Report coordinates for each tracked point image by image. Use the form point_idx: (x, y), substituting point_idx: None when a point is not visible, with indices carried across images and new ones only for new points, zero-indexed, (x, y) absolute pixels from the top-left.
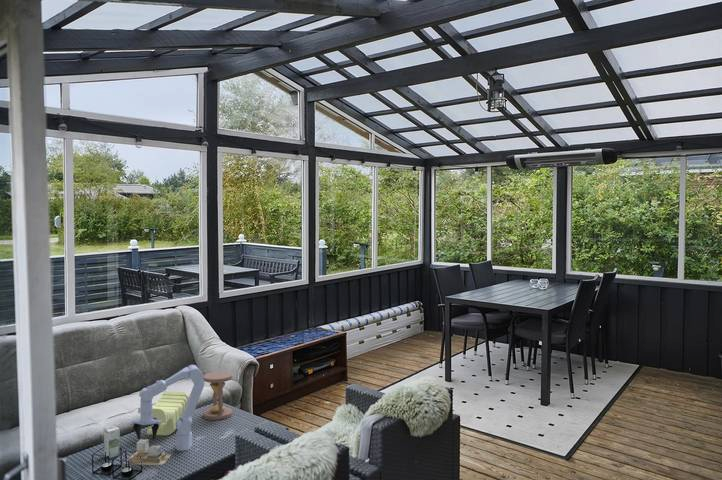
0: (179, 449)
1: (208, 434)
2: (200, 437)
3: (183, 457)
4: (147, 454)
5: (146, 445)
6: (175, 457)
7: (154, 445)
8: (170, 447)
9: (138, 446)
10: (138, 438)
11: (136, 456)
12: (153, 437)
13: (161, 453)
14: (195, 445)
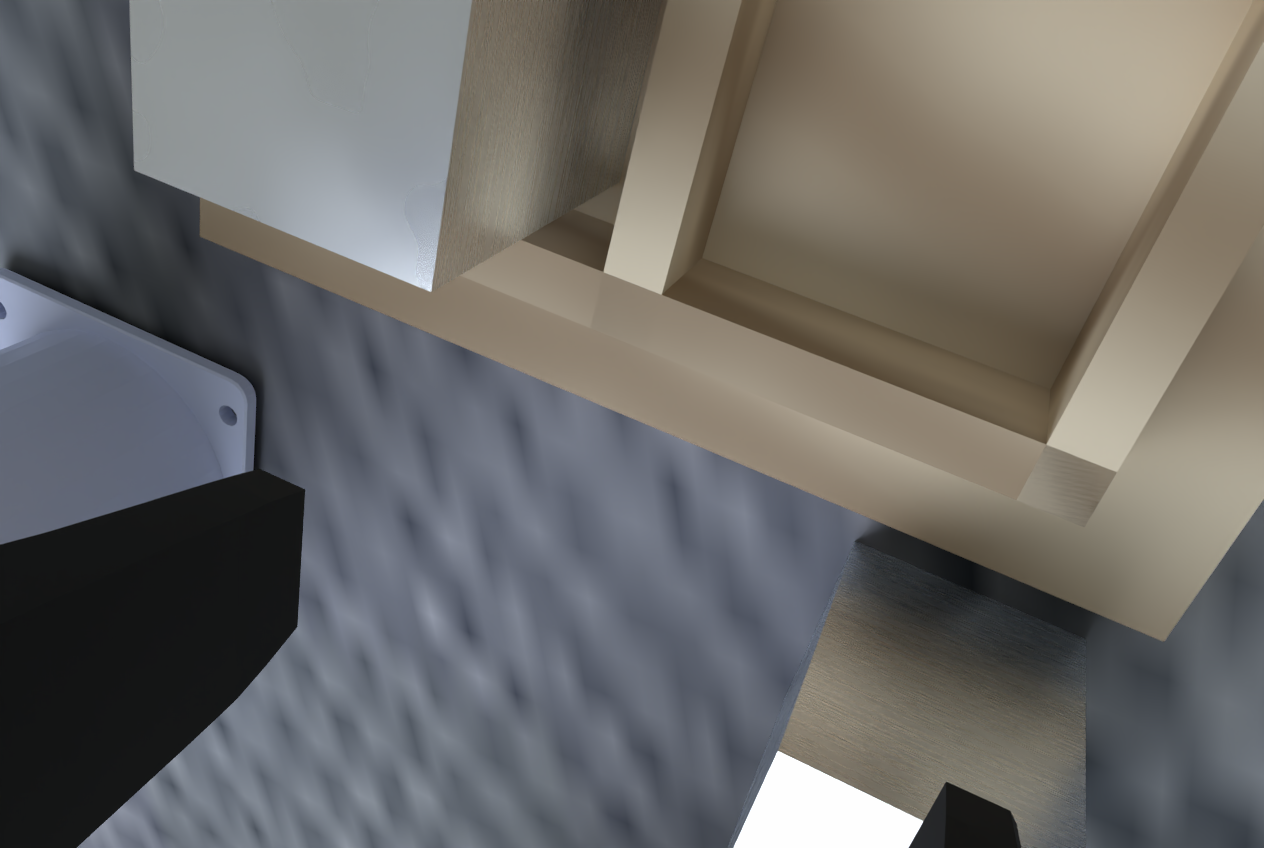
0: (103, 373)
1: None
2: None
3: (4, 57)
4: (742, 296)
5: (778, 733)
6: None
7: (347, 254)
8: (381, 653)
9: (1021, 767)
10: (973, 816)
11: (1098, 310)
12: (192, 497)
13: None
14: None
